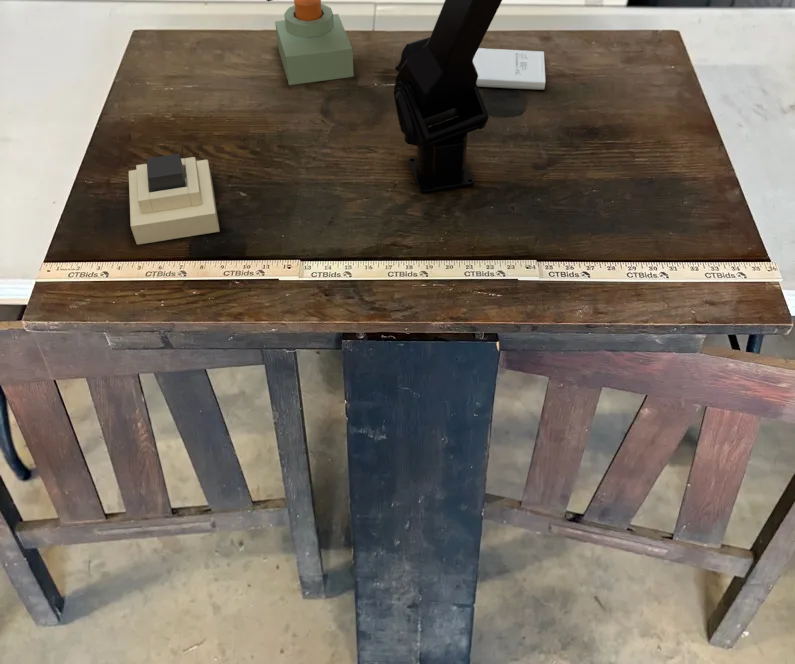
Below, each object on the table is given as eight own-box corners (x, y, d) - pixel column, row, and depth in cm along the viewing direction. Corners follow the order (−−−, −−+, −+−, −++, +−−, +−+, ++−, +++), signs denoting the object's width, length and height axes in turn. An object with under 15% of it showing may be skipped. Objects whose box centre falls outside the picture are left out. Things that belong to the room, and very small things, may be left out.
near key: (185, 188, 87) (181, 172, 85) (151, 193, 86) (147, 177, 85) (183, 168, 89) (179, 153, 88) (150, 173, 88) (146, 158, 87)
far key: (324, 20, 109) (322, 3, 107) (297, 23, 108) (296, 6, 106) (319, 8, 111) (318, -9, 109) (293, 11, 110) (292, -6, 109)
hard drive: (454, 56, 113) (542, 60, 112) (451, 87, 108) (544, 91, 107) (455, 45, 112) (544, 49, 111) (452, 76, 107) (545, 80, 106)
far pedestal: (353, 76, 110) (351, 35, 105) (288, 85, 108) (284, 44, 104) (338, 39, 117) (336, -2, 112) (277, 46, 115) (272, 6, 111)
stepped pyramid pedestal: (219, 231, 88) (212, 199, 85) (136, 245, 87) (126, 213, 83) (211, 177, 95) (204, 145, 91) (134, 189, 93) (124, 157, 90)
